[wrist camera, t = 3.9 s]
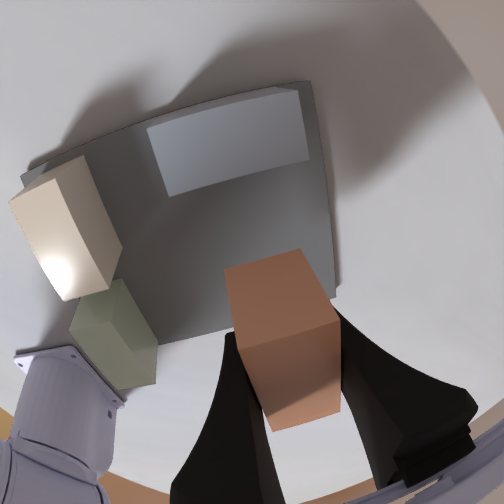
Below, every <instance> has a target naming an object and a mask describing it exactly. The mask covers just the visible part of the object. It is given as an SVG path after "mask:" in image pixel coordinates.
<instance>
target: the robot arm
mask: <svg viewBox="0 0 504 504" xmlns="http://www.w3.org/2000/svg"><path fill="white" fill-rule="evenodd" d="M332 306H333V305H332ZM333 307H334V306H333ZM334 309H335V308H334ZM335 311H336V313H337V315H338V317H339V318H340V330H341V391H342V393H343V395H344V397H345V399H346V401H347V403H348V405H349V407H350V409H351V412H352V415H353V417H354V420H355V423H356V425H357V428H358V431H359V434H360V437H361V440H362V442H363V445H364V448H365V452H366V455H367V458H368V461H369V464H370V467H371V471H372V474H373V478H374V481H375V485H376V488H377V491H376V492H373V493H371V494H368V495H366V496H363V497H360V498H358V499H355V500H352V501H349V502H347V503H344V504H388V503H390V502H392V501H394V500H397V499H399V498H401V497H403V496H405V495H408V494H410V493H412V492H414V491H416V490H418V489H420V488H422V487H424V486H426V485H427V484H429V483H431V482H433V481H435V480H437V479H438V478H439V479H438V481H437V482H436V483H435V484H433V485H431V486H430V487H428V488H426V489H425V490H423V491H421V492H419V493H418V494H416V495H415V496H414V497H413V498H411V499H410V500H408V501H407V502H405V504H476V503H478V502H479V501H480V500H482V499H483V498H484V497H486V496H487V495H488V494H490V493H491V492H492V491H493V490H495V489H496V488H497V487H499V486H500V485H501V484H502V483H503V482H504V419H502V420H501V421H500V422H498V423H497V424H496V425H494V426H493V427H492V428H490V429H489V430H487V431H486V432H485V433H483V434H482V435H480V436H479V437H477V438H476V439H474V440H472V438H471V437H470V435H469V433H470V432H471V430H470V428H469V426H468V423H469V422H470V421H471V419H472V418H473V417H474V416H475V414H476V413H477V410H478V405H477V404H476V402H475V401H474V399H473V398H472V396H471V395H470V394H469V393H468V392H467V390H466V389H463V388H460V387H457V386H454V385H451V384H448V383H445V382H442V381H440V380H438V379H435V378H433V377H430V376H428V375H426V374H424V373H422V372H420V371H418V370H416V369H414V368H412V367H410V366H408V365H407V364H405V363H403V362H401V361H400V360H398V359H397V358H395V357H393V356H392V355H390V354H389V353H387V352H386V351H384V350H383V349H382V348H380V347H379V346H378V345H376V344H375V343H374V342H372V341H371V340H370V339H368V338H367V337H366V336H365V335H364V334H362V333H361V332H360V331H359V330H358V329H356V328H355V327H354V326H353V325H352V324H351V323H350V322H349V321H348V320H347V319H346V318H344V317H343V316H342V315H341V314H340V313H339V312H338V311H337V310H336V309H335ZM13 361H14V362H15V363H16V364H17V365H18V367H19V368H20V369H21V370H22V371H23V372H24V373H25V374H26V375H27V376H26V379H25V382H24V385H23V388H22V391H21V394H20V397H19V401H18V404H17V408H16V411H15V415H14V419H13V423H12V426H11V431H10V435H9V439H8V440H7V441H5V440H3V439H0V504H111V503H110V500H109V498H108V495H107V493H106V491H105V489H104V488H103V486H102V485H101V484H99V483H98V482H97V478H99V477H101V476H102V475H104V474H105V473H106V472H107V470H108V469H109V467H110V465H111V463H112V460H113V452H114V437H115V425H116V414H117V409H122V408H124V405H125V404H124V403H123V402H122V401H121V400H120V398H119V397H118V396H117V395H116V394H115V393H114V392H113V391H112V390H111V389H110V388H109V387H108V386H107V385H106V384H105V382H104V381H103V380H102V379H101V378H100V377H99V376H98V375H97V373H96V372H95V371H94V370H93V369H92V368H91V366H90V365H89V364H88V363H87V362H86V361H85V359H84V358H83V357H82V356H81V355H80V353H79V352H78V351H77V350H76V348H75V347H73V346H64V347H59V348H54V349H48V350H43V351H38V352H32V353H27V354H21V355H15V356H14V358H13ZM170 504H286V503H285V500H284V497H283V493H282V490H281V487H280V483H279V480H278V476H277V473H276V469H275V465H274V462H273V458H272V454H271V451H270V447H269V443H268V439H267V435H266V430H265V425H264V418H263V411H262V407H261V404H260V402H259V400H258V397H257V395H256V393H255V390H254V388H253V385H252V383H251V381H250V378H249V376H248V373H247V371H246V369H245V366H244V364H243V361H242V359H241V356H240V354H239V351H238V348H237V342H236V337H235V332H234V331H233V332H229V333H227V334H226V335H225V344H224V354H223V360H222V366H221V371H220V376H219V380H218V384H217V388H216V392H215V395H214V399H213V402H212V405H211V408H210V411H209V414H208V416H207V419H206V421H205V424H204V426H203V429H202V431H201V433H200V435H199V438H198V440H197V442H196V444H195V445H194V447H193V449H192V451H191V453H190V455H189V457H188V458H187V460H186V462H185V464H184V465H183V467H182V468H181V470H180V471H179V473H178V474H177V476H176V477H175V479H174V480H173V482H172V484H171V490H170Z"/></svg>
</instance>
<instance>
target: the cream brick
mask: <svg viewBox="0 0 504 504" xmlns="http://www.w3.org/2000/svg"><path fill="white" fill-rule="evenodd" d="M8 203H9V205H10V207H11V209H12V212H13V214H14V216H15V218H16V220H17V222H18V224H19V226H20V228H21V230H22V232H23V234H24V236H25V238H26V240H27V241H28V243H29V245H30V247H31V249H32V251H33V253H34V254H35V256H36V258H37V260H38V261H39V263H40V265H41V267H42V268H43V270H44V272H45V273H46V275H47V277H48V278H49V280H50V282H51V283H52V285H53V286H54V288H55V290H56V291H57V293H58V294H59V296H60V297H61V299H62V301H63V302H64V301H68V300H71V299H75V298H78V297H82V296H85V295H89V294H93V293H96V292H100V291H103V290H107V289H109V288H110V285H111V282H112V278H113V275H114V272H115V269H116V266H117V263H118V260H119V257H120V254H121V251H122V248H123V247H122V245H121V243H120V241H119V238H118V236H117V234H116V232H115V230H114V227H113V225H112V223H111V221H110V218H109V216H108V214H107V212H106V209H105V207H104V205H103V202H102V200H101V197H100V195H99V193H98V190H97V188H96V185H95V183H94V180H93V178H92V175H91V173H90V170H89V167H88V165H87V162H86V160H85V157H84V155H82V156H80V157H77V158H75V159H73V160H71V161H68V162H66V163H64V164H62V165H60V166H58V167H56V168H53V169H51V170H49V171H47V172H45V173H43V174H41V175H40V176H39V177H37V178H36V179H35V180H34V181H32V182H31V183H30V184H29V185H27V186H26V187H25V188H24V189H23V190H21V191H20V192H19V193H18V194H17V195H16V196H14V197H13V198H12V199H11V200H10V201H9V202H8Z"/></svg>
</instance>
